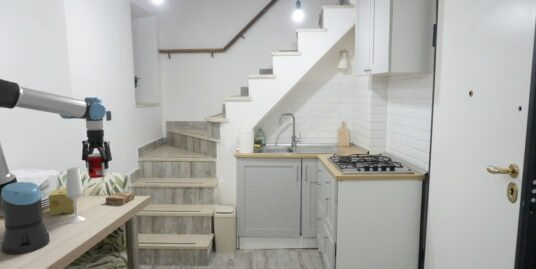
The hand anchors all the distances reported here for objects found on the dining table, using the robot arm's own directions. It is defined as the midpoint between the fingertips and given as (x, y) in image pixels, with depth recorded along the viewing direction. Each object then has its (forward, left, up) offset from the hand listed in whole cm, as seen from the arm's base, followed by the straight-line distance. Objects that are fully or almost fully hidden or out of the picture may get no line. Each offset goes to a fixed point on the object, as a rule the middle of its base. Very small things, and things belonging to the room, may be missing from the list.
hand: (97, 174), depth 170 cm
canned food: (0, 0, -1) cm, 1 cm away
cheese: (-8, +14, -17) cm, 24 cm away
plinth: (+11, -4, -17) cm, 21 cm away
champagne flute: (-17, -1, -17) cm, 24 cm away
